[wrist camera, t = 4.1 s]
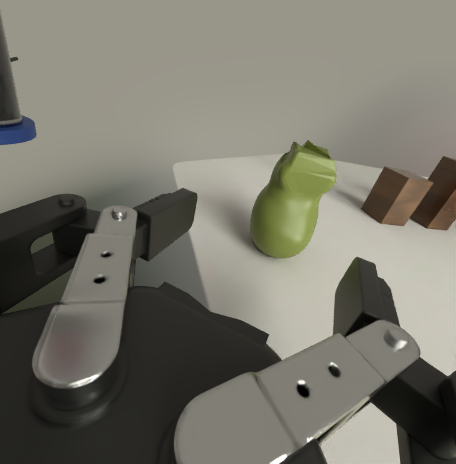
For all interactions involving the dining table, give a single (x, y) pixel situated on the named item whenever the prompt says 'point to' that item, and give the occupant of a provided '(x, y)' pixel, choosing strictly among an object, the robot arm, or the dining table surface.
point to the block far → (439, 198)
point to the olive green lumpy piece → (292, 200)
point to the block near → (395, 196)
